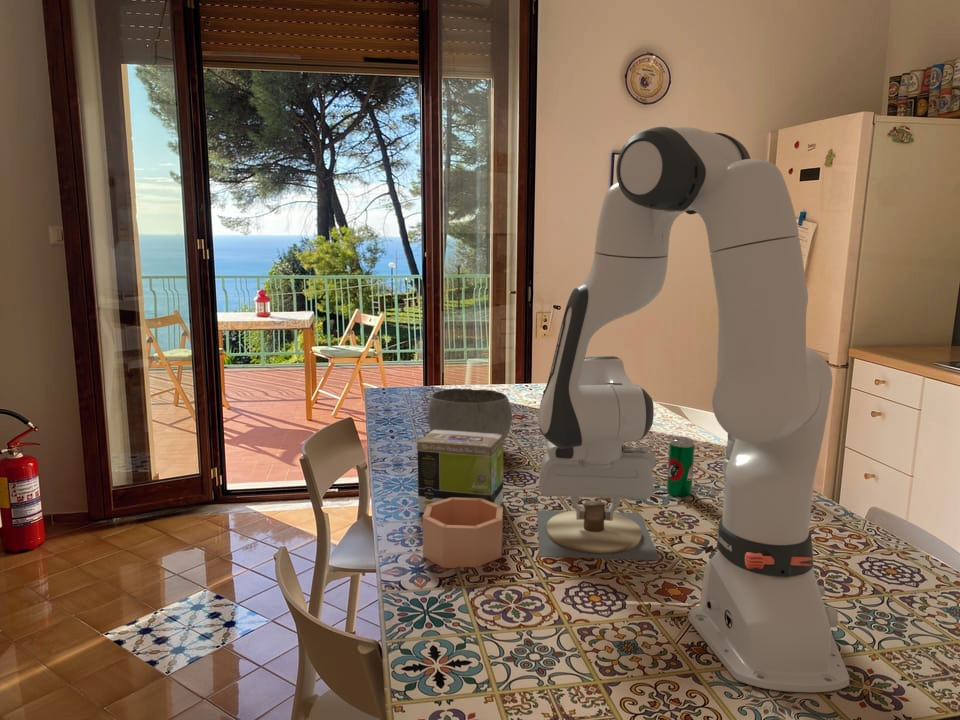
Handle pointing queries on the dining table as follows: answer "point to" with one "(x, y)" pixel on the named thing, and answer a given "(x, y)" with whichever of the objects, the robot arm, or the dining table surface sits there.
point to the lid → (594, 531)
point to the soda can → (680, 466)
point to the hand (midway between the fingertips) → (594, 519)
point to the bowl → (470, 411)
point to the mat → (554, 550)
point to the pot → (462, 532)
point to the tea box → (459, 466)
